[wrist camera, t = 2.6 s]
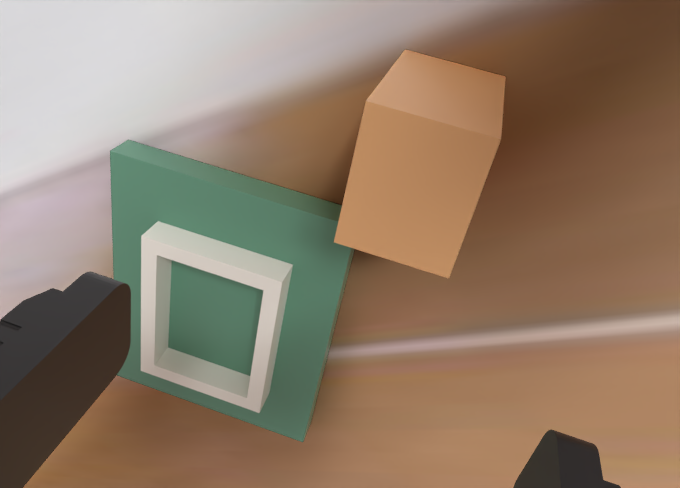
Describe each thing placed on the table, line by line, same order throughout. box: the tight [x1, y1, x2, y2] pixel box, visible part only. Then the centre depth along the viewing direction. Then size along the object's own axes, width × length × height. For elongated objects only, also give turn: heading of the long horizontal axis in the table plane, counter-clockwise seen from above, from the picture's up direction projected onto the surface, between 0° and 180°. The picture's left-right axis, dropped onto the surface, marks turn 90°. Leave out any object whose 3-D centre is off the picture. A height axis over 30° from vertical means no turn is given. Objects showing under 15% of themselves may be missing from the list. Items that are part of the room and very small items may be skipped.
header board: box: [110, 140, 355, 442], centre depth 30 cm, size 12×15×3 cm
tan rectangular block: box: [334, 49, 506, 278], centre depth 21 cm, size 4×6×7 cm
